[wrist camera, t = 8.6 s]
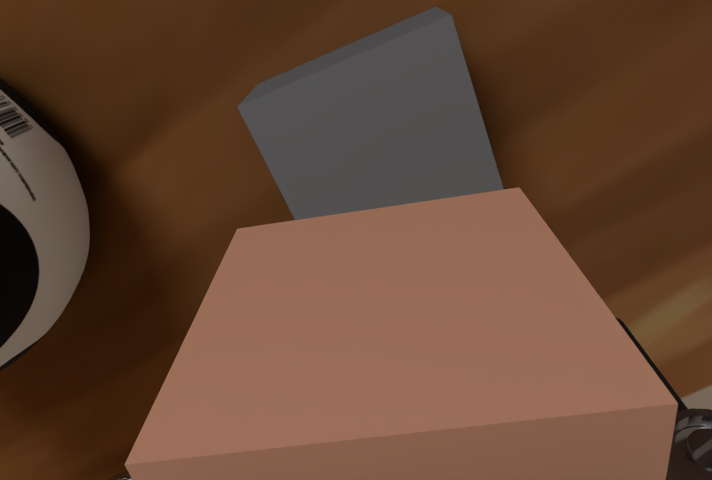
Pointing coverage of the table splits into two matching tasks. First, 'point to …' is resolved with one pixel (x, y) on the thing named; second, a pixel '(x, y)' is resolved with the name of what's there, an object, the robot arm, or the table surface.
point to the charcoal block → (375, 123)
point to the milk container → (36, 226)
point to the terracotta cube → (406, 357)
